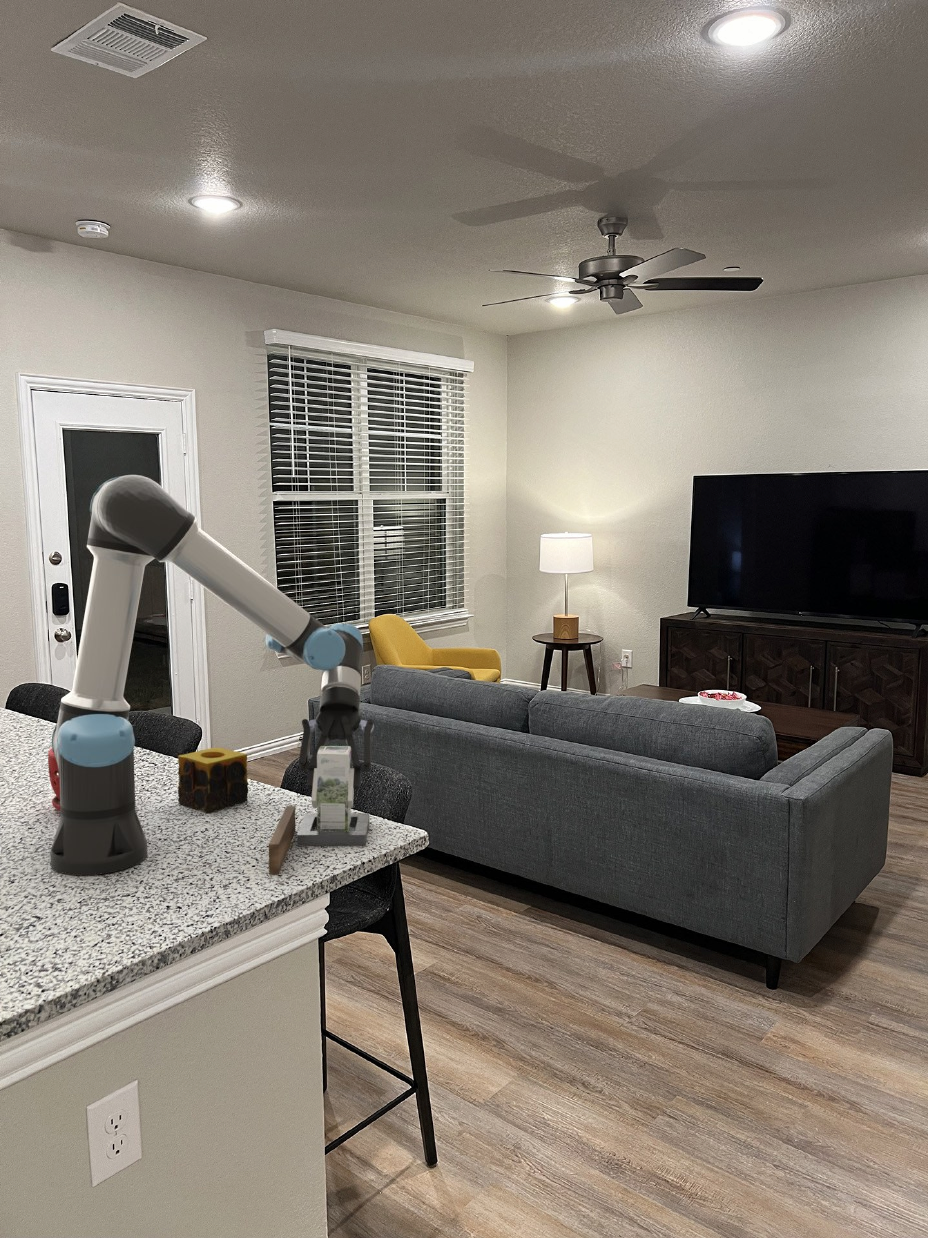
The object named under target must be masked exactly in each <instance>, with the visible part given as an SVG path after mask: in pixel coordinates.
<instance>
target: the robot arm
mask: <svg viewBox="0 0 928 1238" xmlns="http://www.w3.org/2000/svg"><path fill="white" fill-rule="evenodd" d="M89 512H90V514H89V515H90V525H89V530H88V537H87V542H86V543H87V544H86V548H87V549H88V550H89V551H90V553H91V555H93V563H92V568H91V569H92V570H91V575H90V581H89V587H88V593H87V599H86V604H85V612H84V617H83V622H82V623H83V624H82V629H81V636H80V642H79V646H78V653H77V654H78V655H77V660H76V665H75V671H74V677H73V683H72V689H71V691H70V692H68V693H67V694H66V695H65V696H63V697H62V698H61V701H60V704H59V705H60V707H59V711H58V718H57V723H56V724H55V726H54V729H53V731H52V735H51V749H52V751H53V754H54V756H55V758H56V761H57V764H58V768H59V774H58V775H59V784H60V811H59V812H60V819H59V822H58V825H57V827H56V832H55V835H54V837H53V841H52V845H51V848H50V852H49V853H50V854H49V855H50V856H49V858H50V867H51V868H52V869H53V870H54V871H56V872H59V873H62V874H65V875H66V874H67V875H75V876H95V875H103V874H110V873H114V872H119V871H122V870H126V869H130V868H131V867H135V866H136V865H138V864H140V863H141V862H142V861H144V860H146V858H147V856H148V839H147V837H146V835H145V832H144V829H143V826H142V824H141V822H140V819H139V817H138V814H137V810H136V785H135V781H136V780H135V745H136V740H135V735H134V730H133V729H134V728H133V725H132V724H131V723H130V721H129V719H130V718H129V716H130V710H131V705H130V704H129V703H128V702H127V701H126V699H125V697H124V694H125V688H126V687H125V686H126V681H127V675H128V670H129V669H128V668H129V662H130V656H131V650H132V646H133V645H132V644H133V639H134V633H135V626H136V620H137V615H138V608H139V604H140V603H139V602H140V598H141V591H142V584H143V579H144V574H145V567H146V566H147V565H148V564H149V563H150V562H152V561H153V560H155V559H156V560H157V561H158V562H159V563H166V562H169V563H171V564H172V565H173V566H175V567H176V568H178V569H179V570H181V571H182V572H183V573H184V574H185V575H186V576H188V577H189V578H191V579H192V580H194V581H195V582H196V583H197V584H199V585H200V586H201V587H203V588H204V589H205V590H207V591H208V592H210V593H211V594H213V596H215V597H216V598H218V599H219V600H221V601H222V602H223V603H224V604H225V605H228V606H229V607H230V608H231V609H233V610H234V611H235V612H236V613H237V614H239V615H240V616H242V617H243V618H245V619H246V620H247V621H249V622H250V623H251V624H253V625H254V626H255V627H257V628H258V629H259V630H261V631H262V632H264V633H265V634H266V635H265V645H266V647H267V649H270V650H272V651H275V652H277V653H278V654H282V655H285V656H288V657H291V658H292V659H295V660H297V661H299V662H301V663H304V664H306V665H308V666H309V667H310V668H312V669H313V670H318V671H322V676H321V686H320V687H321V688H320V694H321V695H320V698H319V699H320V700H319V707H318V708H319V709H318V714H317V716H315V718H314V719H311V720H308V719H307V718H303V719H302V720H301V726H302V732H303V733H302V739H301V745H300V750H299V759H298V767H299V770H300V771H301V772H305V773H306V772H307V779H306V785H307V789H308V790H312V791H311V806H312V809H317V753H318V750H319V748H320V746H330V742H331V741H332V740H333V741H335V740H341V741H342V740H343V741H345V744H346V746H351V766H352V767H351V768H350V774H349V789H348V807H349V808H351V809H353V808H354V797H355V796H354V793H355V790H360V788H361V783H362V781H361V777H362V774H363V773H364V772H367V773H369V772H371V771H372V735H373V733H374V730H375V724H374V723H375V722H374V719H371V718H370V719H368V720H364V719H362V718H361V716H360V702H361V701H360V696H361V687H362V685H361V682H362V664H363V655H364V641H363V634H362V631H360V629H359V628H357V626H355V625H353V624H349V623H346V624H344V623H340V622H339V623H336V624H333V625H331V626H330V627H327V626H325V625H324V624H323V623H322V622H320V621H319V619H317V618H316V617H314V616H312V615H311V614H310V613H309V612H308V611H307V610H305V609H304V608H303V607H302V606H300V605H299V604H297V603H296V602H295V601H294V600H292V599H291V598H290V597H288V596H287V595H286V594H285V593H284V592H282V591H281V590H279V589H278V587H276V586H274V584H272V583H271V582H269V581H268V580H267V579H265V577H263V576H262V575H261V574H260V573H258V572H257V571H255V570H254V569H253V568H252V567H250V566H249V565H247V564H246V563H245V562H244V561H243V560H241V559H240V558H238V557H237V555H235V554H233V553H232V552H231V551H230V550H228V549H227V548H226V547H225V546H223V545H222V544H221V543H219V542H218V541H217V540H216V539H214V538H213V537H212V536H210V535H209V534H208V533H207V532H206V531H204V530H203V529H201V528H200V527H199V526H198V519H197V517H196V516H195V515H193V514H192V513H191V512H189V510H187V509H186V508H185V507H184V506H182V505H181V504H180V503H179V501H177V500H176V499H175V498H173V496H171V494H170V493H169V492H168V491H166V490H165V488H163V487H162V486H161V484H159V483H157V482H156V481H154V480H153V479H151V478H150V477H146V476H144V475H138V474H128V475H127V474H126V475H122V476H121V475H120V476H115V477H113V478H110V479H108V480H106V481H105V482H103V483H102V484H101V485H99V487H98V488H97V489H96V490H95V492H94V493H93V495H92V498H91V500H90V506H89ZM316 727H317V728H318V729H319V730H320V732H321V733H320V737H319V739H318V743H317V744H316V746H315V748H314V750H313V754H312V756H311V757H310V760H309V756H310V755H309V753H310V747H311V742H312V741H311V740H312V734H313V732H315V728H316ZM359 728H361V732H362V733H363V762H360V757H359V754H358V751H357V748H356V744H355V740H354V736H353V734H354V733H355V732H356V731H357V730H358V729H359Z"/></svg>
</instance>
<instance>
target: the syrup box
mask: <svg viewBox="0 0 928 1238" xmlns="http://www.w3.org/2000/svg"><path fill="white" fill-rule="evenodd" d="M350 768H352V761H351V746H347V745H342V746H341V745H328V746H320V748H319V750H318V753H317V808H316V813H317V827H316V831H349V828H350V827H349V825H350V822H351V813H352V812H351V811H352V808H349V807H348V789H349V774H350Z"/></svg>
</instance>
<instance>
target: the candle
mask: <svg viewBox="0 0 928 1238" xmlns="http://www.w3.org/2000/svg"><path fill="white" fill-rule="evenodd" d="M177 760H178V772H177V774H178V784H177V785H178V786H177V787H178V788H177V795H178V798H177V801H178V804H179V805H181V806H185V807H187V808H191V809H195V810H198V811H202V812H204V813H207V814H211V813H214V812H217V811H221V810H225V809H227V808H233V807H234V806H237V805H241V804H244V803H247V802H248V800H249V799H248V794H249V787H248V785H249V782H248V769H247V767H248V754H246V753H244V752H240V751H235V750H230V749H226V748H222V747H219V746H216V747H211V748H210V747H209V748H207V749H201V750H198V751H194V752H189V753H184V754H179V755H178V756H177Z"/></svg>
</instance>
